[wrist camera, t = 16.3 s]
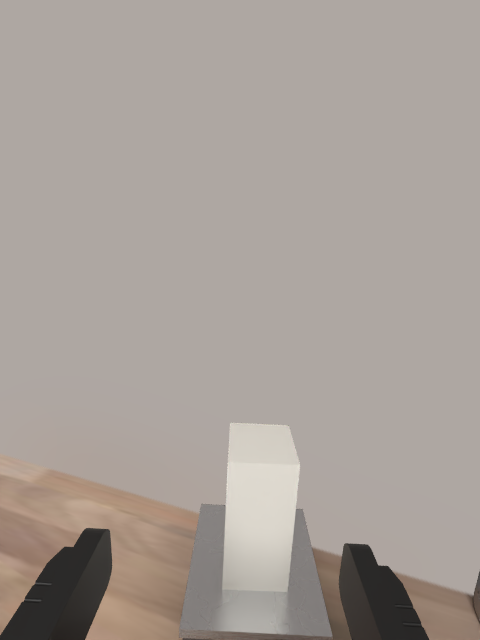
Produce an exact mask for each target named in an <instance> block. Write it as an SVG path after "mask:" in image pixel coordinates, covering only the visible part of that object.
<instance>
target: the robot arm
mask: <svg viewBox="0 0 480 640" xmlns="http://www.w3.org/2000/svg"><path fill="white" fill-rule="evenodd" d="M111 571H112V553H111V538H110V530H109V529H95V528H86V529H85V530H84V531H83V532H82V534H81V535H80V537H79V539H78V540H77V542H76V544H75V545H74V547H64V548H63V549H62V550H61V551H60V552H59V553H57V554H56V555H55V556H54V557H53V558H52V559H51V560H50V561H49V562H48V563H47V565H46V566H45V568H44V569H43V571H42V572H41V574H40V575H39V577H38V579H37V580H36V582H35V585H33V586H32V588H31V589H30V591H29V592H28V594H27V595H26V597H25V600H24V602H22V603H21V605H20V606H19V608H18V609H17V611H16V612H15V614H14V615H13V617H12V618H11V620H10V622H9V623H8V625H7V626H6V628H5V629H4V631H3V632H2V634H1V635H0V640H85V638H86V636H87V634H88V631H89V629H90V626H91V624H92V622H93V619H94V617H95V615H96V612H97V610H98V608H99V605H100V603H101V600H102V598H103V596H104V593H105V591H106V589H107V586H108V583H109V580H110V576H111ZM339 589H340V596H341V601H342V605H343V609H344V612H345V616H346V620H347V623H348V627H349V631H350V634H351V638H352V640H429V638H428V636H427V634H426V632H425V630H424V628H423V627H422V625H421V621H420V619H419V617H418V615H417V613H416V611H415V609H413V605H412V602H411V600H410V598H409V596H408V594H407V592H406V590H405V588H404V586H403V584H402V583H401V581H400V580H399V579H398V578H397V576H396V575H395V574H394V573H393V572H392V570H391V569H390V568H389V567H388V566H378V564H377V562H376V559H375V557H374V555H373V552H372V550H371V548H370V547H369V546H368V545H365V544H344V548H343V554H342V561H341V569H340V576H339ZM473 602H474V608H475V611H476V614H477V616H478V619H479V621H480V572H479V576H478V580H477V584H476V588H475V592H474V598H473Z"/></svg>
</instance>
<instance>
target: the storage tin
mask: <svg viewBox="0 0 480 640" xmlns="http://www.w3.org/2000/svg"><path fill="white" fill-rule="evenodd" d="M225 515H226V505H210V504H201V508H200V514H199V520H198V525H197V531H196V537H195V542H194V548H193V554H192V560H191V565H190V571H189V577H188V582H187V588H186V594H185V599H184V605H183V611H182V616H181V622H180V628H179V638H183V640H332V638H333V636H332V632H331V627H330V623H329V619H328V615H327V611H326V606H325V602H324V598H323V594H322V589H321V585H320V581H319V577H318V572H317V568H316V564H315V560H314V556H313V551H312V547H311V543H310V539H309V535H308V530H307V526H306V522H305V517H304V513H303V510H302V509H296V512H295V522H294V532H293V542H292V552H291V562H290V572H289V582H288V592H274V591H250V590H225V589H222V582H223V560H224V537H225Z"/></svg>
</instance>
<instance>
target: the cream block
mask: <svg viewBox="0 0 480 640" xmlns="http://www.w3.org/2000/svg"><path fill="white" fill-rule="evenodd" d="M299 472H300V463H299V459H298V456H297V453H296V449H295V446H294V442H293V439H292V435H291V432H290V428H289V426H288V425H269V424H246V423H230V437H229V452H228V470H227V492H226V493H227V495H226V515H225V537H224V560H223V582H222V589H225V590H250V591H274V592H288V582H289V572H290V562H291V552H292V542H293V532H294V522H295V512H296V502H297V492H298V482H299Z"/></svg>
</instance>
